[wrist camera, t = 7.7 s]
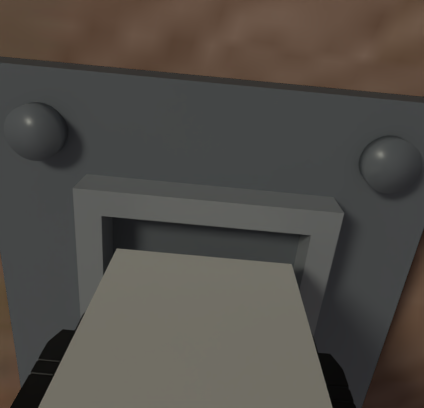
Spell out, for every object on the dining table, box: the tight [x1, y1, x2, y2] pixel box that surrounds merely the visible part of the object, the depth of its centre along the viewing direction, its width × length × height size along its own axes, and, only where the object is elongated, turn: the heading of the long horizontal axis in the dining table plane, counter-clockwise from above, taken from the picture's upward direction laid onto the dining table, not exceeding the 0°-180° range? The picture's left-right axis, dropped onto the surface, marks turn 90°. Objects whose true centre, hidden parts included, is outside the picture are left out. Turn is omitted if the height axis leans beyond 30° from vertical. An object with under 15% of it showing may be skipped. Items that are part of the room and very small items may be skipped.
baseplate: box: [0, 57, 424, 408], centre depth 14 cm, size 14×14×3 cm
